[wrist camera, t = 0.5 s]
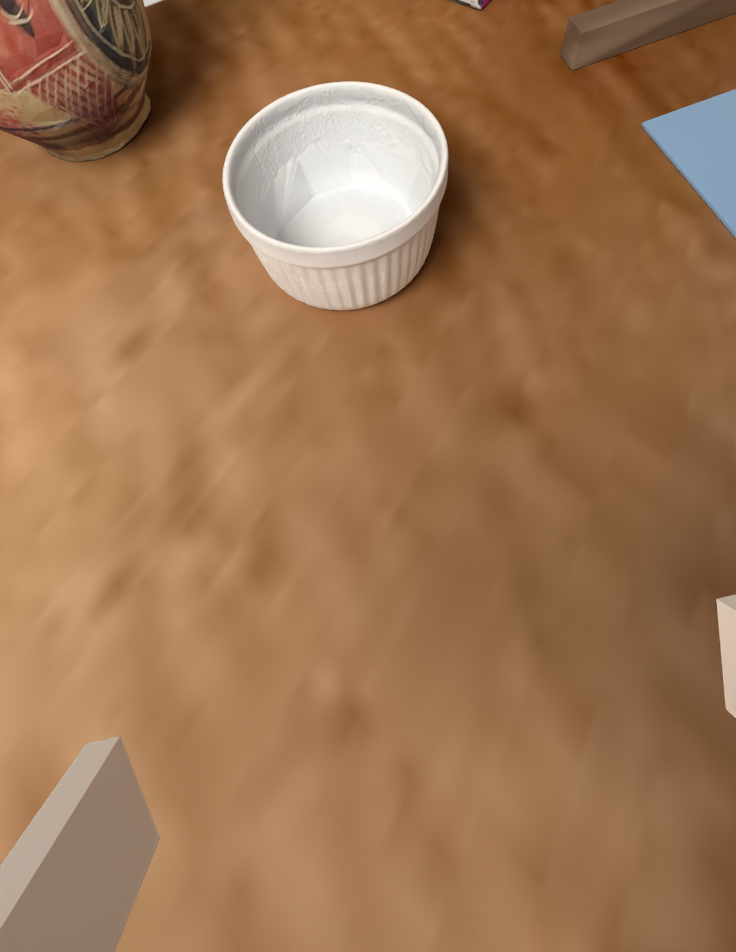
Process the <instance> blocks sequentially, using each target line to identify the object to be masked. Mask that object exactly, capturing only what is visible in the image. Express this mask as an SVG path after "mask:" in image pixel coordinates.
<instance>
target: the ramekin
mask: <svg viewBox="0 0 736 952" xmlns="http://www.w3.org/2000/svg"><path fill="white" fill-rule="evenodd" d="M447 179H448V146H447V141H446V137H445V135H444V132H443V130H442V128H441V126H440V124H439V122H438V121H437V119H436V118H435V117H434V115H433V114H432V113H431V112H430V111H429V110H428V109H427V108H426V107H425V106H424V105H422V104H421V103H420V102H419V101H417V100H415V99H414V98H412V97H411V96H409V95H407V94H405V93H403V92H400V91H398V90H395V89H393V88H390V87H386V86H382V85H378V84H373V83H365V82H333V83H326V84H320V85H315V86H311V87H308V88H304V89H301V90H298V91H295V92H293V93H291V94H288V95H286V96H284V97H282V98H280V99H278V100H276V101H274V102H273V103H271V104H269V105H268V106H266V107H265V108H263V109H262V110H261V111H259V112H258V113H257V114H256V115H255V116H253V117H252V118H251V119H250V120H249V121H248V122H247V123H246V124H245V126H244V127H243V128H242V129H241V130H240V132H239V133H238V134H237V136H236V137H235V139H234V141H233V142H232V144H231V146H230V148H229V151H228V153H227V156H226V160H225V163H224V167H223V189H224V195H225V198H226V202H227V205H228V208H229V210H230V213H231V216H232V218H233V220H234V222H235V224H236V226H237V228H238V229H239V230H240V232H241V233H242V235H243V236H244V237H245V238H246V239H247V240H248V241H249V242H250V244H251V246H252V247H253V249H254V251H255V253H256V254H257V256H258V258H259V259H260V261H261V263H262V264H263V266H264V267H265V269H266V271H267V272H268V274H269V275H270V277H271V278H272V279H273V280H274V281H275V282H276V284H277V285H278V286H279V287H280V288H281V289H283V290H284V291H285V292H286V293H287V294H288V295H290V296H292V297H294V298H295V299H297V300H298V301H301V302H305V303H306V304H307V305H310V306H315V307H317V308H322V309H328V310H354V309H360V308H364V307H368V306H371V305H374V304H377V303H379V302H381V301H383V300H386V299H387V298H389V297H391V296H393V295H395V294H396V293H397V292H399V291H400V290H401V289H403V288H404V287H405V286H406V285H407V284H408V283H409V282H411V281H412V279H413V278H414V277H415V276H416V275H417V274H418V272H419V270H420V268H421V267H422V266H423V264H424V262H425V259H426V257H427V255H428V253H429V250H430V247H431V243H432V240H433V236H434V232H435V227H436V222H437V217H438V211H439V205H440V203H441V201H442V198H443V195H444V192H445V189H446V185H447Z"/></svg>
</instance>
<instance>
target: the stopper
mask: <svg viewBox="0 0 736 952" xmlns="http://www.w3.org/2000/svg"><path fill="white" fill-rule="evenodd" d="M735 13H736V0H620V1H617V2H614V3H611V4H608V5H605V6H602V7H600V8H597V9H594V10H591V11H588V12H585V13H582V14H579V15H576V16H574V17H571V18H569V20H568V25H567V29H566V33H565V37H564V41H563V45H562V49H561V53H560V56H561V58H562V59H563V60H564V61H565V62H566V64H567V65H568V66H569V67H570V69H571V70H575V69H578V68H581V67H584V66H587V65H590V64H592V63H595V62H598V61H601V60H604V59H607V58H609V57H612V56H615V55H618V54H621V53H624V52H627V51H629V50H632V49H635V48H638V47H641V46H644V45H646V44H649V43H652V42H655V41H658V40H661V39H664V38H666V37H669V36H672V35H675V34H678V33H681V32H683V31H686V30H689V29H692V28H695V27H698V26H701V25H703V24H706V23H709V22H712V21H715V20H718V19H721V18H723V17H726V16H729V15H732V14H735Z"/></svg>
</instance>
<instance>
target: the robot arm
mask: <svg viewBox="0 0 736 952" xmlns="http://www.w3.org/2000/svg"><path fill="white" fill-rule="evenodd" d="M716 600H717V612H718V624H719V635H720V647H721V658H722V670H723V681H724V693H725V705H726V710H727V711H728V712H730V713H731V714H732V715H733V716H734V717H735V718H736V594H735V595H731V596H727V597H722V598H718V599H716ZM159 839H160V837H159V835H158V832H157V829H156V827H155V824H154V822H153V819H152V817H151V814H150V811H149V809H148V806H147V804H146V801H145V799H144V796H143V793H142V791H141V788H140V786H139V783H138V781H137V778H136V775H135V773H134V770H133V768H132V765H131V763H130V760H129V757H128V755H127V752H126V750H125V747H124V745H123V742H122V739H121V737H120V736H117V737H113V738H109V739H104V740H100V741H96V742H91V743H87V744H85V746H84V747H83V748H82V750H81V751H80V753H79V754H78V756H77V757H76V758H75V760H74V761H73V763H72V764H71V766H70V767H69V768H68V770H67V771H66V773H65V774H64V776H63V777H62V778H61V780H60V781H59V783H58V784H57V786H56V787H55V788H54V790H53V791H52V793H51V794H50V796H49V797H48V798H47V800H46V801H45V803H44V804H43V806H42V807H41V808H40V810H39V811H38V813H37V814H36V816H35V817H34V818H33V820H32V821H31V823H30V824H29V826H28V827H27V828H26V830H25V831H24V833H23V834H22V836H21V837H20V838H19V840H18V841H17V843H16V844H15V846H14V847H13V848H12V850H11V851H10V853H9V854H8V856H7V857H6V858H5V860H4V861H3V863H2V864H1V866H0V952H114V951H115V949H116V946H117V944H118V942H119V939H120V937H121V934H122V932H123V929H124V927H125V924H126V922H127V919H128V917H129V914H130V912H131V909H132V907H133V904H134V902H135V899H136V897H137V894H138V892H139V889H140V887H141V884H142V882H143V879H144V877H145V874H146V872H147V869H148V867H149V864H150V862H151V859H152V857H153V854H154V852H155V849H156V847H157V844H158V842H159Z"/></svg>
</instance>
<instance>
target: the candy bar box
mask: <svg viewBox="0 0 736 952" xmlns="http://www.w3.org/2000/svg"><path fill="white" fill-rule="evenodd" d="M449 1H454V2H457V3H460V4H464V5H467V6H470V7H473V8H476V9H479V10H481V9H483V8H484V7H485V5H486V4H487V3H488V2H489V1H490V0H449Z"/></svg>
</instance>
